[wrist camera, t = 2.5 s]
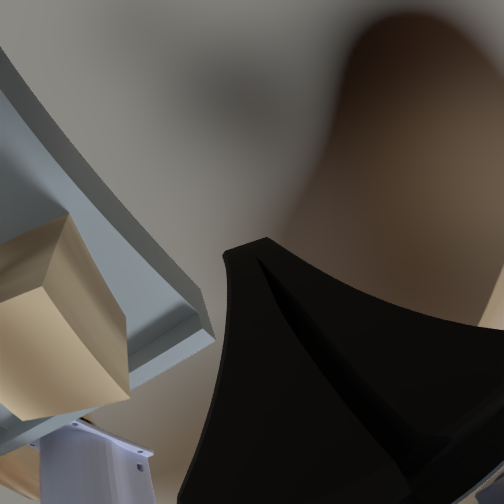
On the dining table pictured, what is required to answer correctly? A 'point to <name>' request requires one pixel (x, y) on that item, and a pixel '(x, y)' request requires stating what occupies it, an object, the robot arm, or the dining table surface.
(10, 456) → the dining table surface
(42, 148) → the trap box
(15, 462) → the dining table surface
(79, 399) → the block
